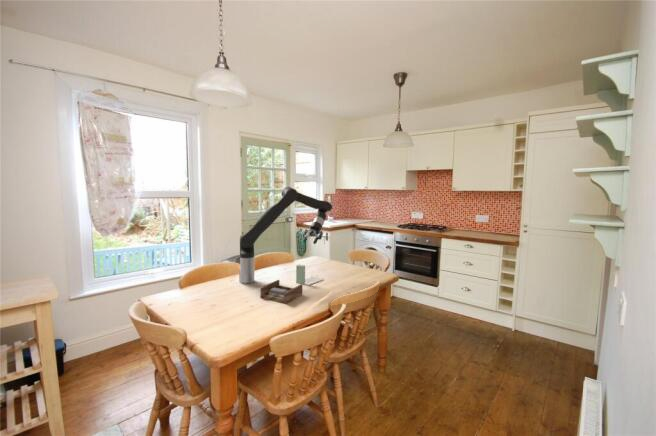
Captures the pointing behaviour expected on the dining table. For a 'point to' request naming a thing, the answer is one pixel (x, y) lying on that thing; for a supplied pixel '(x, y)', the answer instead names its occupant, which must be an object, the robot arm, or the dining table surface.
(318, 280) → the pale grey flat slab
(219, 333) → the dining table surface
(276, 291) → the offcut short
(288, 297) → the rack
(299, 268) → the grey-green block
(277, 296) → the offcut long
